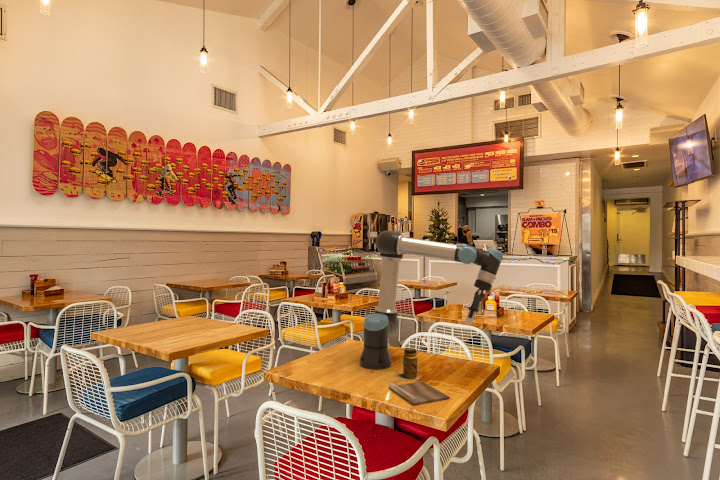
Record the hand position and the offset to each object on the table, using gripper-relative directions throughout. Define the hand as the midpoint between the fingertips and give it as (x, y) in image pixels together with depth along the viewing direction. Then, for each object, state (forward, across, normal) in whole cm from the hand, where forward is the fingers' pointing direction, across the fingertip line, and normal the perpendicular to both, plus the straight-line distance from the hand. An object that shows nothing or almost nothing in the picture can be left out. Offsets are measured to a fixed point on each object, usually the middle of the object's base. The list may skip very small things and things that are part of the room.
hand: (467, 324), depth 182 cm
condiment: (+31, -14, +15) cm, 37 cm away
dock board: (+30, -32, +7) cm, 45 cm away
